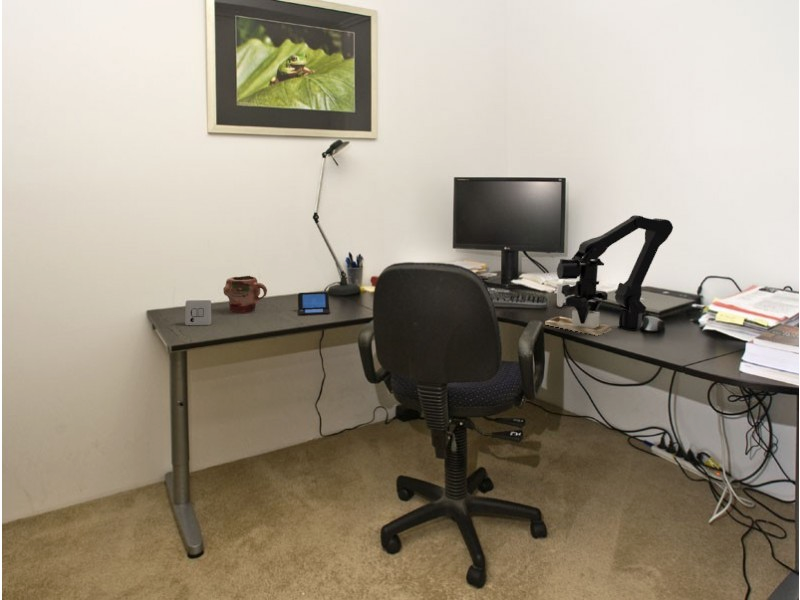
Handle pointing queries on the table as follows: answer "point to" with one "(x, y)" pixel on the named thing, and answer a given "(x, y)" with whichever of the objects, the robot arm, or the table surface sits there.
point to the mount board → (567, 324)
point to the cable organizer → (561, 296)
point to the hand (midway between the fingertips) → (585, 322)
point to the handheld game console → (313, 303)
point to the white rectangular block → (590, 321)
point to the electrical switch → (198, 312)
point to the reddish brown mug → (243, 293)
